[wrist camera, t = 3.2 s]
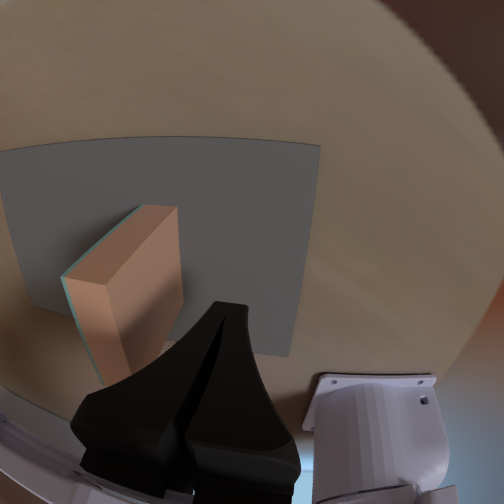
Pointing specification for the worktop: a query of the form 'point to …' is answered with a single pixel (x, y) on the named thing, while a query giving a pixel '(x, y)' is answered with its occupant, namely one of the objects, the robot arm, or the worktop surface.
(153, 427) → the robot arm
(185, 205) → the mat
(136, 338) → the tile
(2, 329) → the worktop surface
